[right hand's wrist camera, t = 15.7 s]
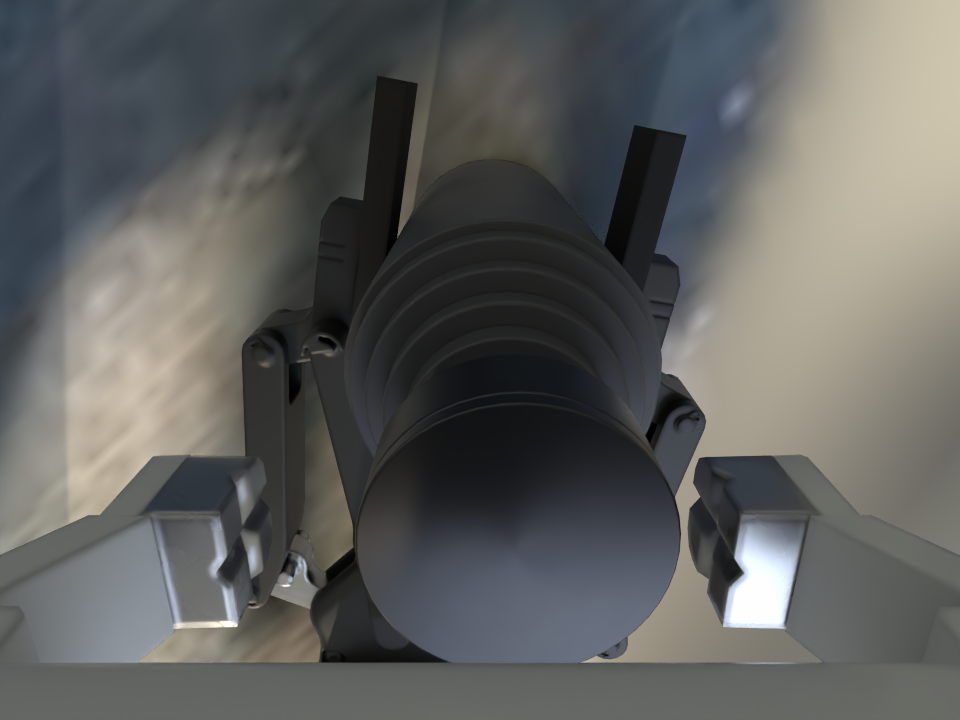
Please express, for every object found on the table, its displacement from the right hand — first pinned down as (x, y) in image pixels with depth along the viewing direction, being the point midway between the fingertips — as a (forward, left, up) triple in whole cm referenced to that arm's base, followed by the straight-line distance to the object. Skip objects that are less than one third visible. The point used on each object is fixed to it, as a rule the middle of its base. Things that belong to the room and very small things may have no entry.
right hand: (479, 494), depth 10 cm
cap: (0, 0, +2) cm, 2 cm away
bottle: (0, 0, -16) cm, 16 cm away
